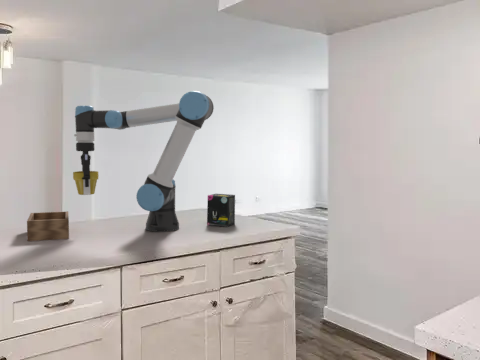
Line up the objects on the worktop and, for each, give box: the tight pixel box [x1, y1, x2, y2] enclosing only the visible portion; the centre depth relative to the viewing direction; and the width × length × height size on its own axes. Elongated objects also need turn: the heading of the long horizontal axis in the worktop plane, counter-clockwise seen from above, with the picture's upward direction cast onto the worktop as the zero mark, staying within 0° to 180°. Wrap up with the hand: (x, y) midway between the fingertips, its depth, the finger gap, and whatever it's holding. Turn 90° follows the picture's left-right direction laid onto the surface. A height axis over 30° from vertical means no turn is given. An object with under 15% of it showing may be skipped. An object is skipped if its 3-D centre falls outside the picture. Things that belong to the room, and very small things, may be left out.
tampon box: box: [206, 193, 236, 228], centre depth 222 cm, size 11×9×15 cm
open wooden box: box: [26, 210, 70, 242], centre depth 194 cm, size 15×22×8 cm
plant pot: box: [72, 170, 99, 196], centre depth 199 cm, size 10×10×10 cm
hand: (86, 193), depth 199 cm, fingers closed on plant pot, 10 cm apart
